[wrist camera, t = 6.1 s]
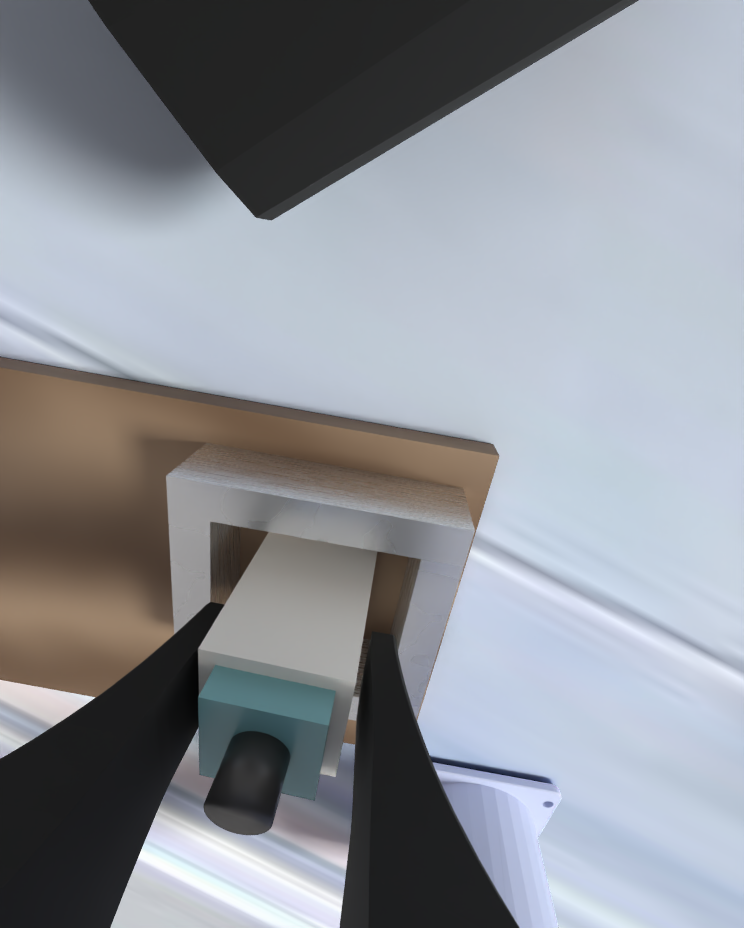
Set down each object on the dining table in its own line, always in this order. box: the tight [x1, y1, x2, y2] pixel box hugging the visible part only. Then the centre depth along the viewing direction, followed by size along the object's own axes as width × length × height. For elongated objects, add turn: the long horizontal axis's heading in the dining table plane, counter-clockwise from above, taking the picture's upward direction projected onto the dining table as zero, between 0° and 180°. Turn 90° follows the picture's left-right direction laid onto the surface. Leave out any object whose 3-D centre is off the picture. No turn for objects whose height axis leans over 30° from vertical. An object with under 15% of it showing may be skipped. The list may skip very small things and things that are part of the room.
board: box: [0, 357, 499, 744], centre depth 16 cm, size 15×20×1 cm
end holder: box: [166, 443, 475, 721], centre depth 14 cm, size 8×8×2 cm
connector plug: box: [198, 532, 377, 835], centre depth 11 cm, size 4×4×7 cm
